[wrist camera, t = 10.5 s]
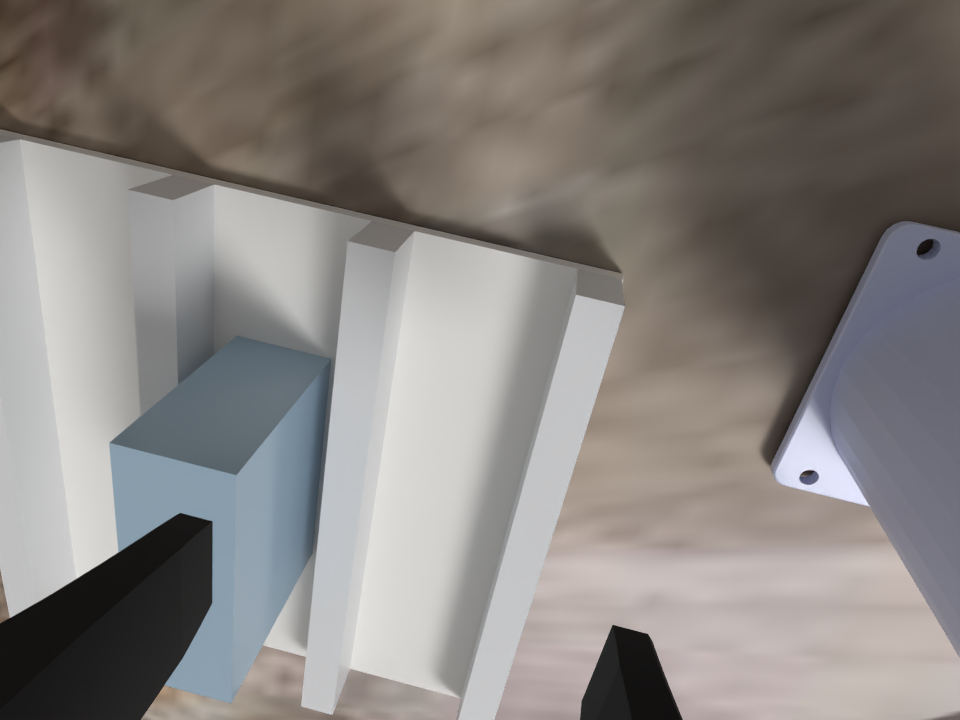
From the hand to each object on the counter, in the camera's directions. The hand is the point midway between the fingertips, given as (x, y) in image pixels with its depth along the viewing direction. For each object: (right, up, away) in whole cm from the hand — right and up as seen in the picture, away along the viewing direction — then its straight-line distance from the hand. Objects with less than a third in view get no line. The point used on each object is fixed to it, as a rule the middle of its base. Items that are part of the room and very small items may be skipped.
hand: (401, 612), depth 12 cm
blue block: (-5, +1, +10) cm, 12 cm away
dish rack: (-5, +1, +11) cm, 12 cm away
